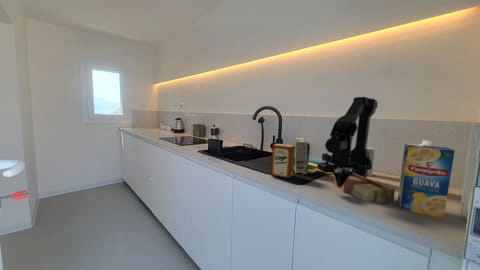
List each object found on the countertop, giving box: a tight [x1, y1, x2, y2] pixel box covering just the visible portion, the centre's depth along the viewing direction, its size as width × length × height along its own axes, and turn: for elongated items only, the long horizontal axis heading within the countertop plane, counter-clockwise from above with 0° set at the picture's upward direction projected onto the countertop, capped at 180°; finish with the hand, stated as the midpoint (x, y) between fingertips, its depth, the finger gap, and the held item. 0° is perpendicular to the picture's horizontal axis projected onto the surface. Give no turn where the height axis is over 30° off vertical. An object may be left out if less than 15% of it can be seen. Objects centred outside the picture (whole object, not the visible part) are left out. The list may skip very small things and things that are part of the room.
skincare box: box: [367, 146, 375, 177], centre depth 106 cm, size 8×6×15 cm
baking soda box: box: [270, 143, 296, 179], centre depth 98 cm, size 10×6×16 cm
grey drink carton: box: [294, 141, 311, 175], centre depth 105 cm, size 9×6×16 cm
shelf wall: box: [352, 172, 396, 204], centre depth 81 cm, size 6×21×5 cm, turn 11°
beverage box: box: [396, 143, 456, 219], centre depth 66 cm, size 7×11×22 cm, turn 57°
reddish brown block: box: [333, 176, 363, 192], centre depth 85 cm, size 9×6×4 cm, turn 102°
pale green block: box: [350, 184, 382, 202], centre depth 76 cm, size 9×7×4 cm
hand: (339, 187), depth 81 cm, fingers closed
